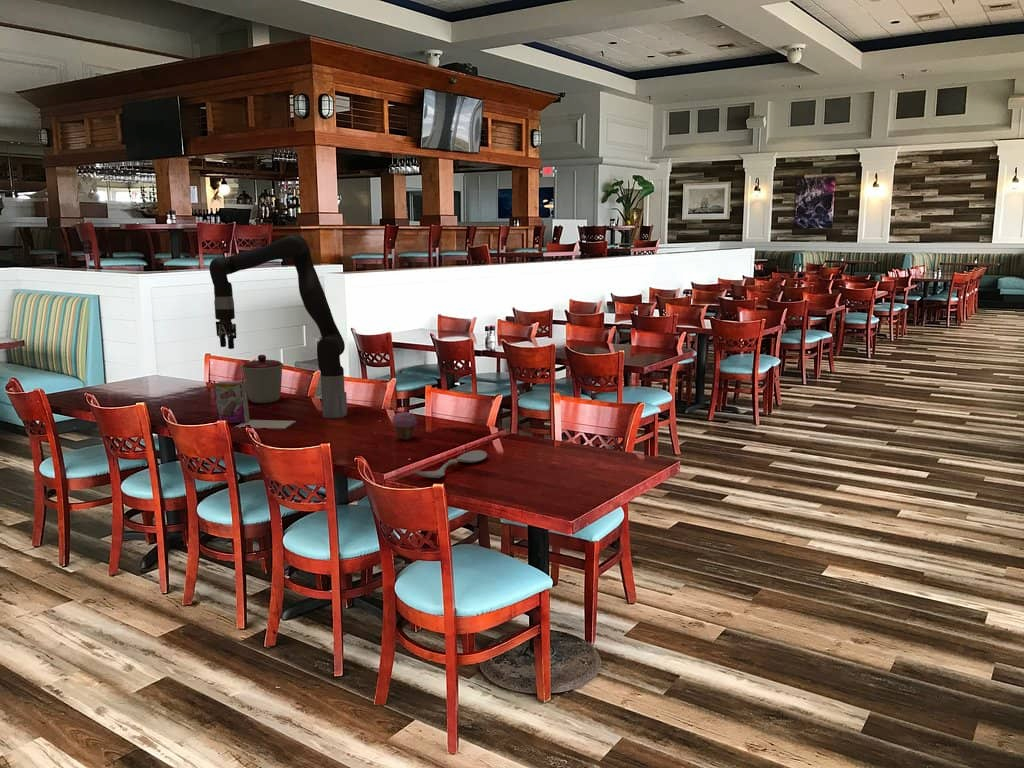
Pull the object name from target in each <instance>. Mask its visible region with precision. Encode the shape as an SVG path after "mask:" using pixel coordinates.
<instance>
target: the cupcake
mask: <svg viewBox="0 0 1024 768" xmlns="http://www.w3.org/2000/svg"><path fill="white" fill-rule="evenodd" d="M417 422H418V419H417V417H416V416H415V415H414V414H413V413H411V412H409V411H403V412H396V414H394V415H393V418H392V425H393V427H394V429H395V432H396V435H397V438H398V439H399V440H404V441H406V440H407V441H408V440H411V439H412V438H414V435H415V428H416V427H415V426H416V425H418V423H417Z"/></svg>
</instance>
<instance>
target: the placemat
mask: <svg viewBox="0 0 1024 768" xmlns="http://www.w3.org/2000/svg"><path fill="white" fill-rule="evenodd" d="M296 423H297V421H296V420H275V419H274V420H273V419H272V420H271V419H269V420H268V419H267V420H266V419H250V420H249V421H248V422H246V423H238V425H235V426H234V428H235V429H242V428H241V427H245V426H246V425H250V426H251V427H253V428H252V429H261V428H267V430H268V429H269V430H270V429H271V430H285V429H287V428H288V427H290V426H292V425H293V424H296ZM236 427H238V428H236ZM261 430H262V429H261Z"/></svg>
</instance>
